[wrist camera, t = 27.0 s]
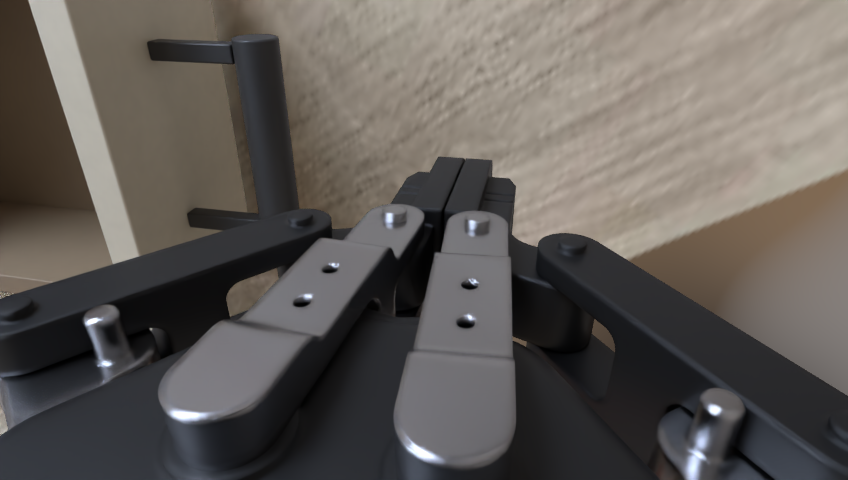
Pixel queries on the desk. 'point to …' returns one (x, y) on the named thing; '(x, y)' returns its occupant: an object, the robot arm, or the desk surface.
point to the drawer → (129, 133)
